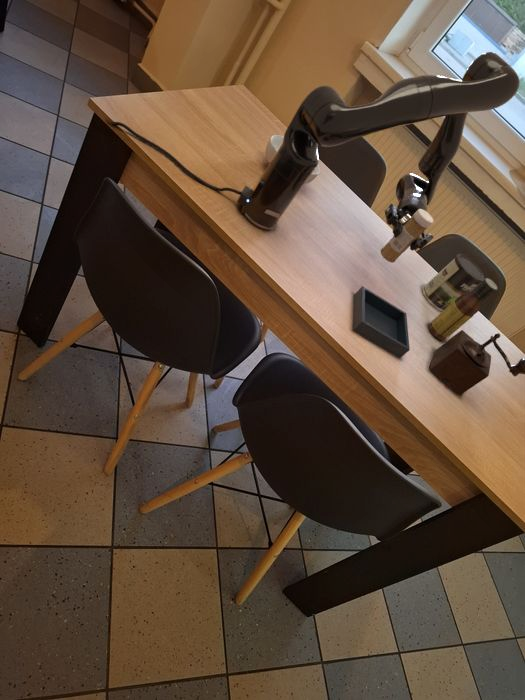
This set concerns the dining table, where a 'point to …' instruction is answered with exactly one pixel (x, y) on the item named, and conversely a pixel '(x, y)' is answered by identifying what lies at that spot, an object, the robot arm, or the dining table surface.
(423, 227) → the sprinkles bottle
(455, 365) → the manual coffee grinder
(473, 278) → the coffee can
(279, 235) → the dining table surface
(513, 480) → the dining table surface
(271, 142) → the cereal bowl
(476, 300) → the sauce bottle
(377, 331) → the tray
